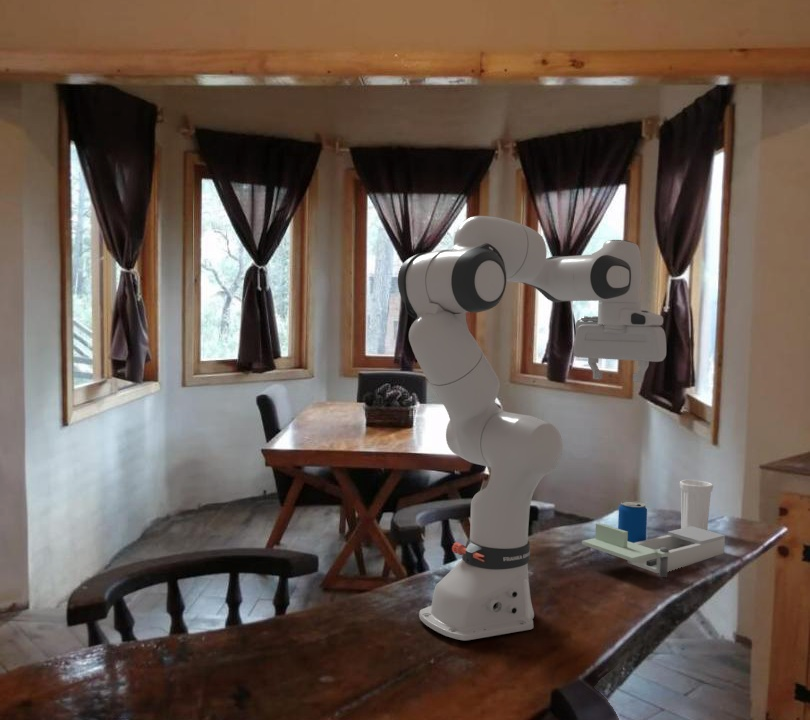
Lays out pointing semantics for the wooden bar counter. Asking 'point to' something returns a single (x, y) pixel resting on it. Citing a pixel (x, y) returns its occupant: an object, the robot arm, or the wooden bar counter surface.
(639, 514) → the beverage can
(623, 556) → the cover
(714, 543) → the white open box
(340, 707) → the wooden bar counter surface
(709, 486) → the cup
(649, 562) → the cord
